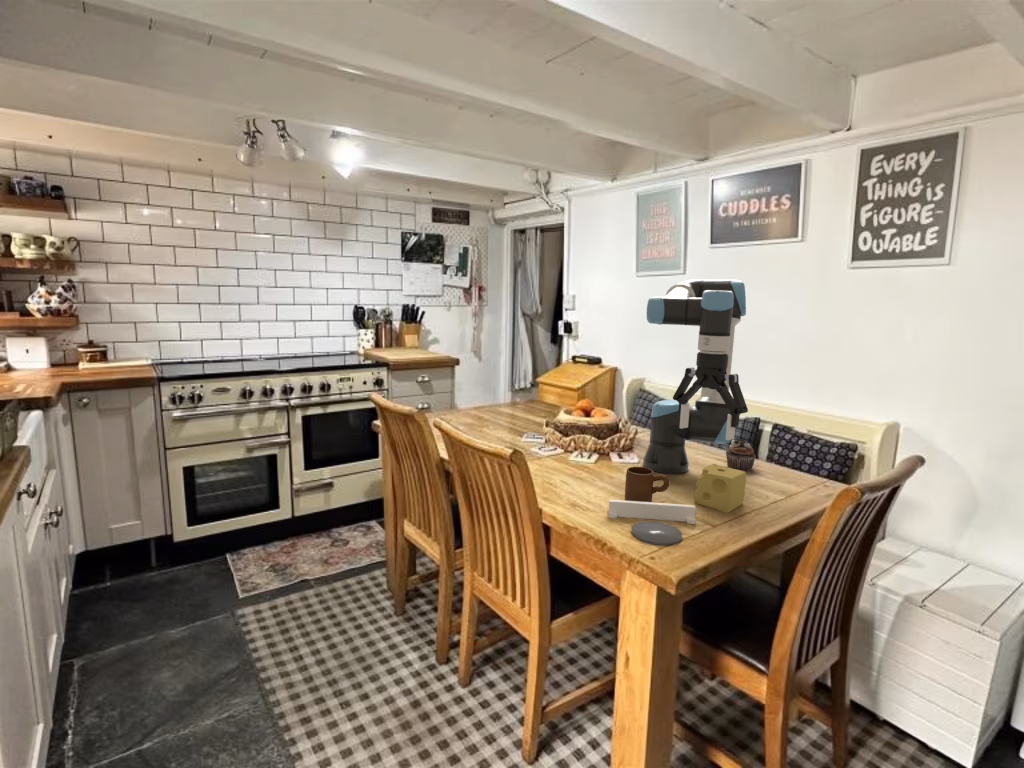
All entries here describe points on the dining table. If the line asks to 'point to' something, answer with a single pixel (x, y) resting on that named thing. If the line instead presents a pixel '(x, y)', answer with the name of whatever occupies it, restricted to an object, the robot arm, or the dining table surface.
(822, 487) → the dining table surface
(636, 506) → the rail
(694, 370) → the robot arm
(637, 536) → the disc
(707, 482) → the cheese
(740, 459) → the cupcake
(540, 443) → the dining table surface
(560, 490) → the dining table surface
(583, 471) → the dining table surface
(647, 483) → the mug
